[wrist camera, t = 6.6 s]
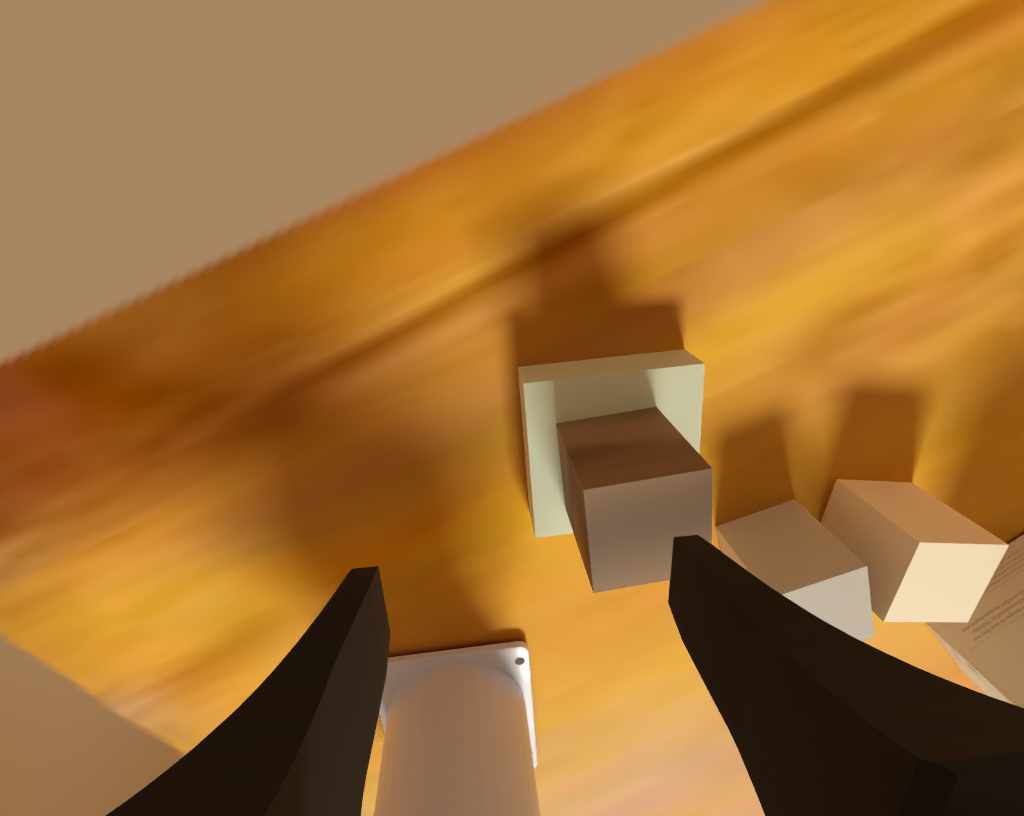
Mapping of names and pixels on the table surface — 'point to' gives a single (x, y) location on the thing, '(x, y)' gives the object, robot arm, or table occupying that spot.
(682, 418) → the sage slab
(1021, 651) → the supplement box
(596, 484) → the walnut block
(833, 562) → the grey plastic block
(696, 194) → the table surface
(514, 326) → the table surface
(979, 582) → the cream block
